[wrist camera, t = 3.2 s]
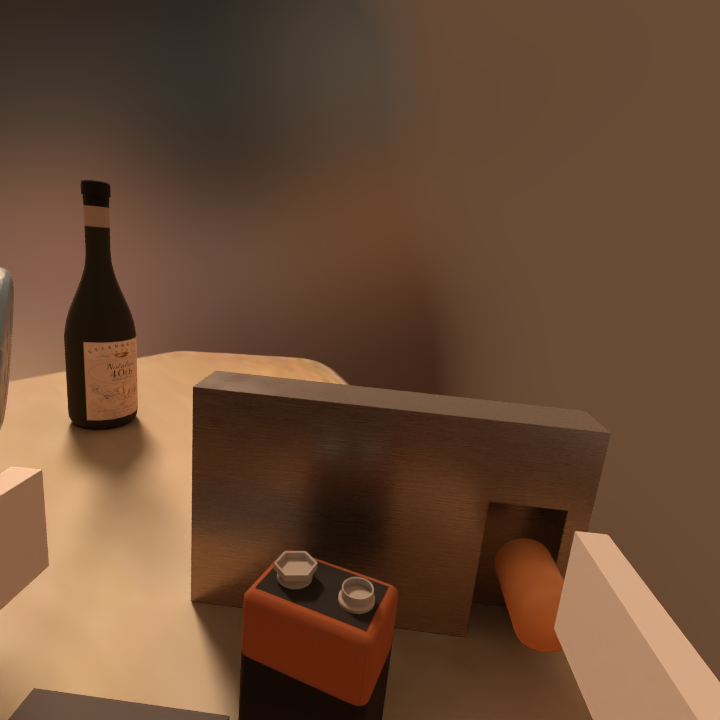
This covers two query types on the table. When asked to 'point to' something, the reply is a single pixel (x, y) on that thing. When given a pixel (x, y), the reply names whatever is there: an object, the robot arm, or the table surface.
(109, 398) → the wine bottle
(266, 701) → the battery
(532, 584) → the orange rounded cylinder
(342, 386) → the panel
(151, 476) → the table surface
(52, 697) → the mat
